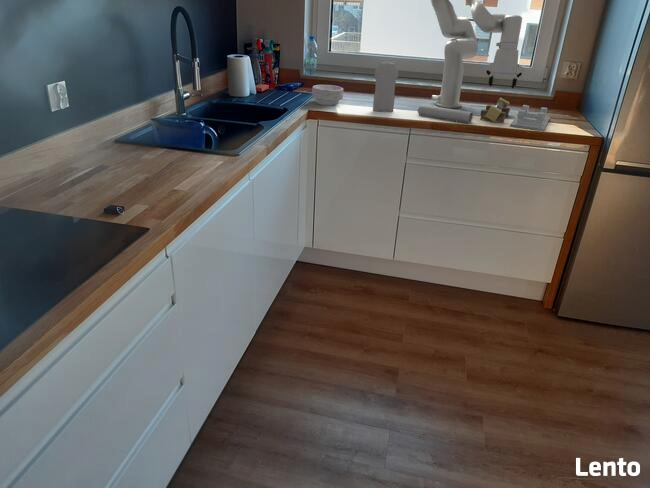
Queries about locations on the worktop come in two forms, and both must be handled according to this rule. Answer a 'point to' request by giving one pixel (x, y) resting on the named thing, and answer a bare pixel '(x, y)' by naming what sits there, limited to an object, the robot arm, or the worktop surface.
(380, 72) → the tall pale column
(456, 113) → the tube
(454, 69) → the robot arm
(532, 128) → the v block stand
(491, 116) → the tan square beam
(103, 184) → the worktop surface
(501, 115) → the beam saddles
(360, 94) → the worktop surface
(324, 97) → the paper bowls
